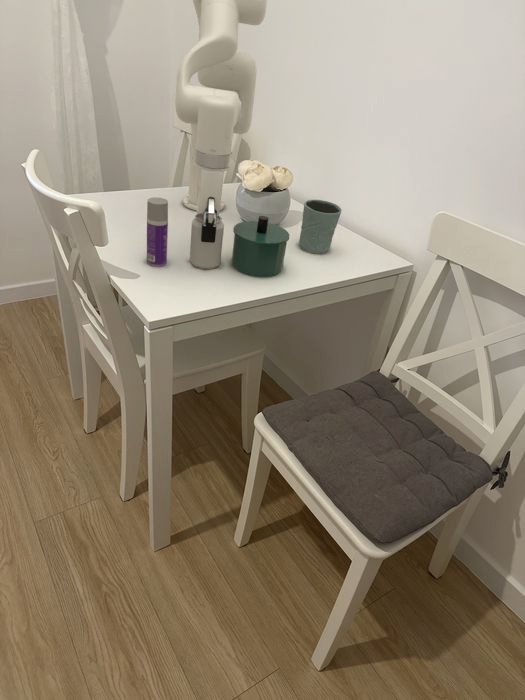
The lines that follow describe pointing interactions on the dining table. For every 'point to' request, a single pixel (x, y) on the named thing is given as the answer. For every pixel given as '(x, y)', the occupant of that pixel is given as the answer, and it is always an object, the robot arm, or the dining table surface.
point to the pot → (257, 258)
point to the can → (205, 244)
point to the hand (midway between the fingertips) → (207, 233)
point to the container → (157, 231)
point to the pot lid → (261, 232)
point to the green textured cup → (318, 226)
